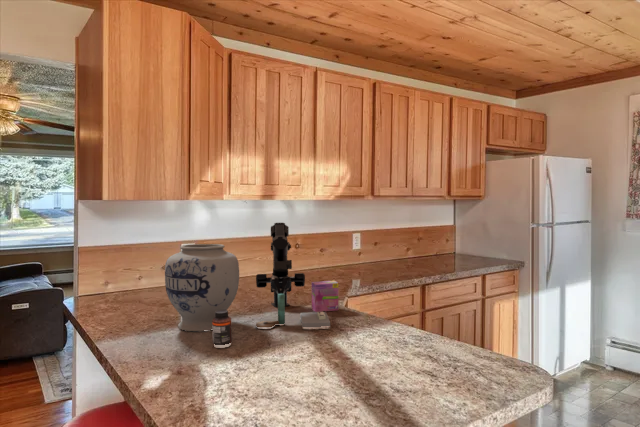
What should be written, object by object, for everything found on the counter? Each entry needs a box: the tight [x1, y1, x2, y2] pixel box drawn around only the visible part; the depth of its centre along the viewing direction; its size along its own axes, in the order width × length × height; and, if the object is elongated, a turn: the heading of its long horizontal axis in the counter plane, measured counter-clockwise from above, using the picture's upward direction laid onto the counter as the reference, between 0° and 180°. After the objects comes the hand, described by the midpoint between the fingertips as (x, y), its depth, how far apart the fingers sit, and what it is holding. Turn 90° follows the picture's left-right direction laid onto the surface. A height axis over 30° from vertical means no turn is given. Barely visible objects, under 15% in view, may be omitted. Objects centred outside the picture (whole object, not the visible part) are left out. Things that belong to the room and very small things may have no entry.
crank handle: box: [255, 294, 286, 327], centre depth 158 cm, size 7×11×12 cm, turn 96°
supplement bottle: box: [212, 309, 233, 345], centre depth 138 cm, size 6×6×11 cm
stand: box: [299, 311, 331, 328], centre depth 161 cm, size 14×10×5 cm
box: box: [311, 280, 340, 312], centre depth 182 cm, size 10×6×12 cm, turn 105°
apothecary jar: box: [164, 243, 240, 332], centre depth 161 cm, size 27×27×30 cm
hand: (280, 298), depth 162 cm, fingers closed
